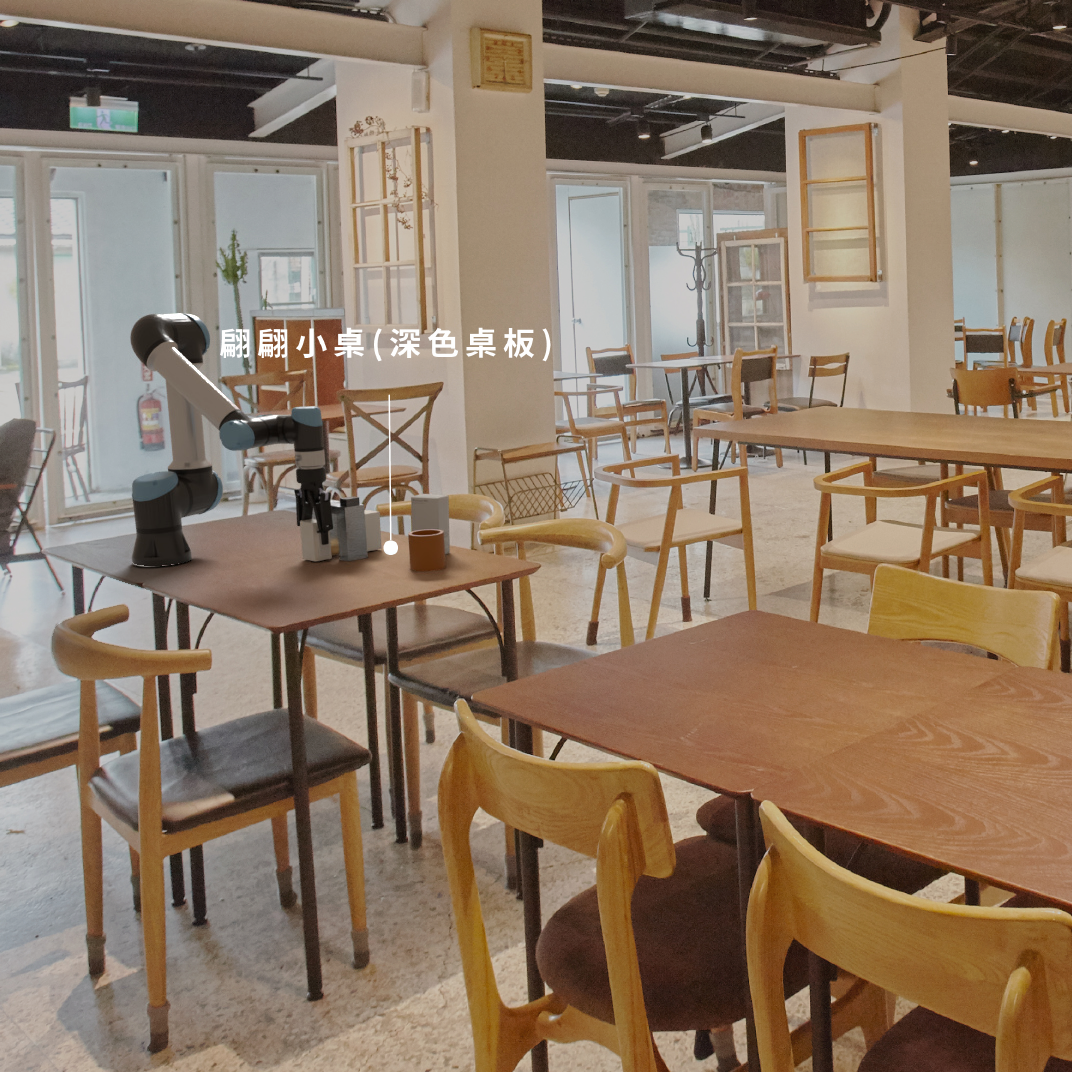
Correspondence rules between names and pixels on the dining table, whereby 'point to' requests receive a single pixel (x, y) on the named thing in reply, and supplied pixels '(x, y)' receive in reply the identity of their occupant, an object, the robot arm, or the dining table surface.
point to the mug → (427, 550)
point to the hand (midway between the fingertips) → (316, 555)
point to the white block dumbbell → (311, 545)
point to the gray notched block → (348, 528)
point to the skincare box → (431, 514)
